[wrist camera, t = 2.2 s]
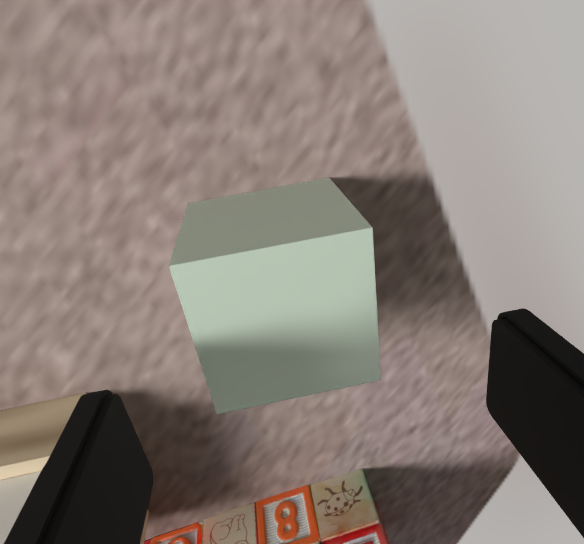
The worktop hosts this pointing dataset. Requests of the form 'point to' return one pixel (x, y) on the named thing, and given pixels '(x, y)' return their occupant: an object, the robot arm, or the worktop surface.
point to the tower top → (13, 500)
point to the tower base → (34, 437)
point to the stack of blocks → (294, 518)
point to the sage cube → (278, 293)
